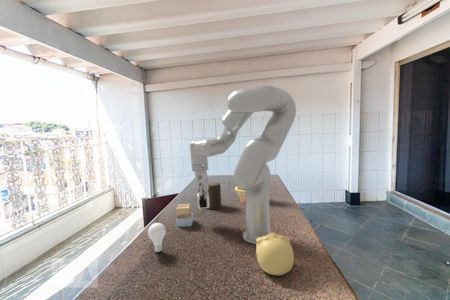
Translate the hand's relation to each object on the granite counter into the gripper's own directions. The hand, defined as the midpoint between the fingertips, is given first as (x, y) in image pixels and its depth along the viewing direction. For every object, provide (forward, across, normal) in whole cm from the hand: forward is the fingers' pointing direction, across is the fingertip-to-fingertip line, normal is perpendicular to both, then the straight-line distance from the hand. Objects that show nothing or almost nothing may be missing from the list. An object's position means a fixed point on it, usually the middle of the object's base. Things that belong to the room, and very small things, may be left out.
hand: (203, 205), depth 109 cm
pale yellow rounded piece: (+12, -36, -24) cm, 45 cm away
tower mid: (+5, +3, +10) cm, 12 cm away
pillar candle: (+9, +25, -2) cm, 27 cm away
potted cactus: (+10, +33, -24) cm, 42 cm away
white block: (+1, 0, 0) cm, 1 cm away
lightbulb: (+10, -22, +16) cm, 29 cm away
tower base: (+9, +3, +10) cm, 14 cm away
